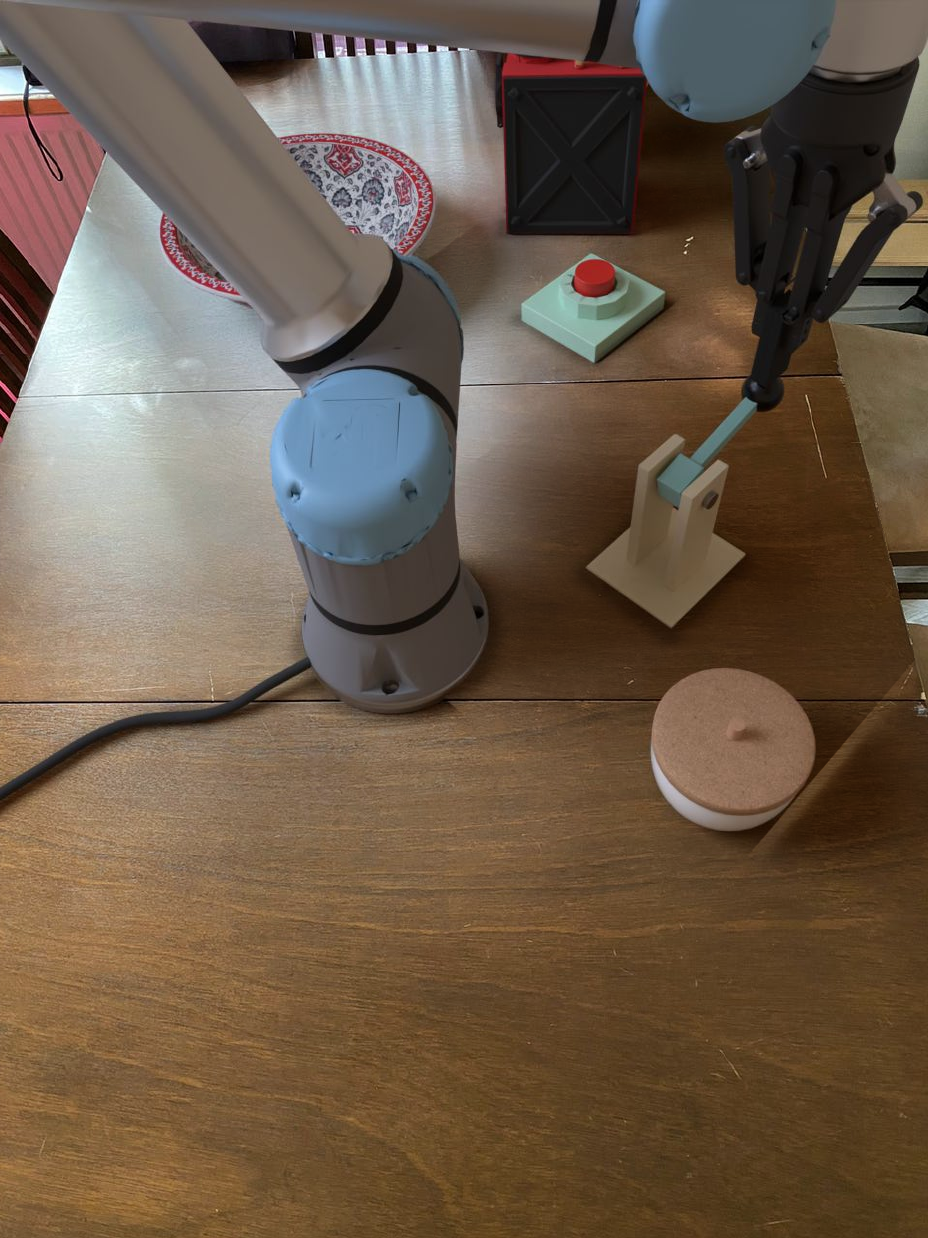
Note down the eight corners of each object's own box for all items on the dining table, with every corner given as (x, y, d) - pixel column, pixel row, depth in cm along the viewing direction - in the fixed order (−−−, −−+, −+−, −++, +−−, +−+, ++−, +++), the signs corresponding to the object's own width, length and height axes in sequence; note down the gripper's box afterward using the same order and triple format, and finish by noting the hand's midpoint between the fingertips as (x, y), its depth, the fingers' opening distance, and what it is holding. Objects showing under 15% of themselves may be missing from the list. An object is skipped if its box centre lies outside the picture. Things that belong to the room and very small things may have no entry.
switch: (757, 380, 77) (759, 354, 74) (791, 399, 76) (794, 373, 73) (652, 494, 75) (651, 472, 72) (686, 515, 74) (685, 494, 71)
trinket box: (691, 694, 75) (710, 628, 68) (817, 771, 71) (852, 710, 63) (613, 795, 71) (623, 737, 63) (742, 883, 67) (769, 833, 59)
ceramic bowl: (131, 276, 109) (105, 212, 103) (335, 168, 119) (324, 103, 112) (280, 405, 96) (262, 341, 90) (496, 272, 106) (494, 205, 99)
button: (596, 303, 96) (597, 289, 95) (566, 287, 98) (566, 272, 97) (622, 284, 98) (623, 269, 96) (591, 268, 100) (592, 253, 98)
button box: (594, 363, 97) (596, 331, 94) (521, 320, 101) (520, 288, 98) (663, 309, 101) (668, 276, 98) (590, 269, 105) (592, 237, 102)
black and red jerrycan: (636, 185, 113) (654, -1, 97) (636, 238, 108) (655, 50, 91) (502, 185, 115) (497, 2, 98) (495, 237, 109) (489, 52, 93)
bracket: (659, 508, 86) (677, 401, 75) (743, 562, 82) (774, 457, 72) (585, 574, 82) (592, 472, 72) (669, 635, 79) (691, 536, 68)
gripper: (996, 57, 52) (872, 387, 72) (791, -11, 58) (727, 312, 77) (922, 117, 50) (814, 442, 69) (714, 40, 55) (668, 361, 75)
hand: (768, 373), depth 73 cm, fingers closed
